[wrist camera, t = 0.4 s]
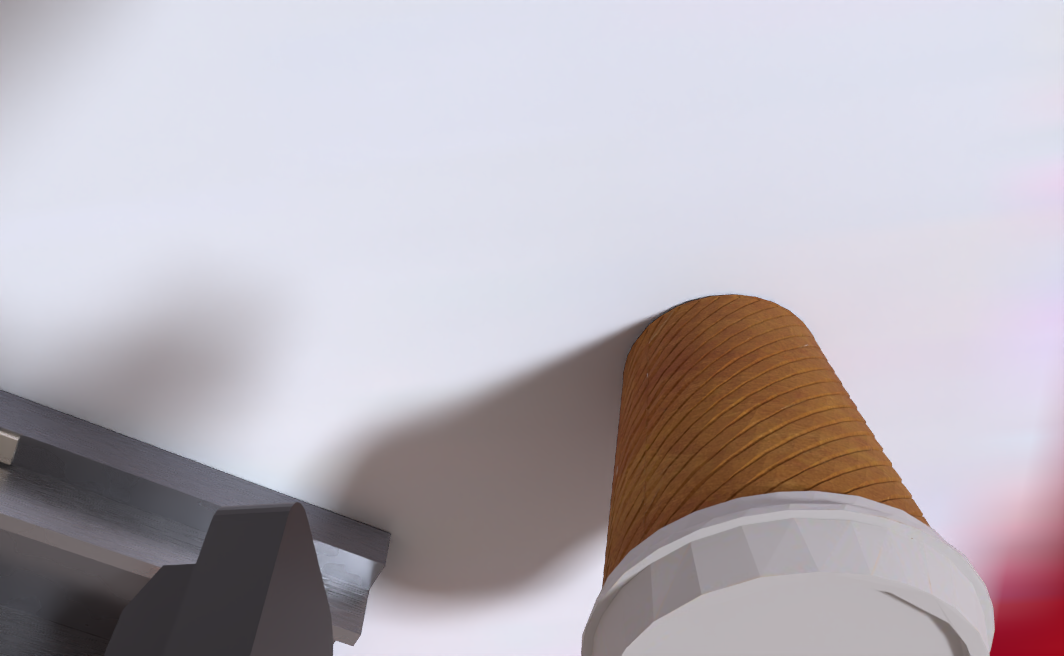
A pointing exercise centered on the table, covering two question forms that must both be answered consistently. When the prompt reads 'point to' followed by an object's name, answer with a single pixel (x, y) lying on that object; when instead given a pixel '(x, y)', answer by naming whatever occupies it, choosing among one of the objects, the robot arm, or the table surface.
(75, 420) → the rail base
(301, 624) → the robot arm
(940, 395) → the table surface
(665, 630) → the disposable coffee cup
